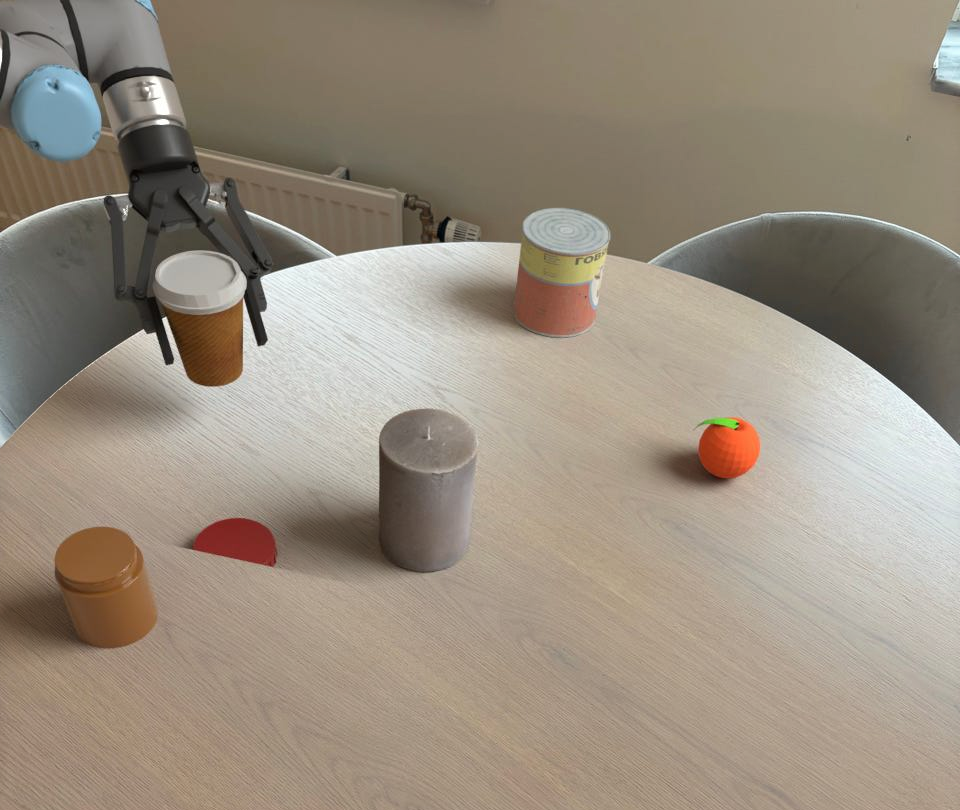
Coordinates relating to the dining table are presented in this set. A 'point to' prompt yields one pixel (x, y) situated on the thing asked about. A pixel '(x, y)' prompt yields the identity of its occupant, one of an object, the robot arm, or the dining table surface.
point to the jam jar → (105, 587)
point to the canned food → (560, 271)
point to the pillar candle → (426, 488)
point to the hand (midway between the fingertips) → (217, 352)
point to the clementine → (728, 447)
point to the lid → (238, 541)
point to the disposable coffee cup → (204, 313)
